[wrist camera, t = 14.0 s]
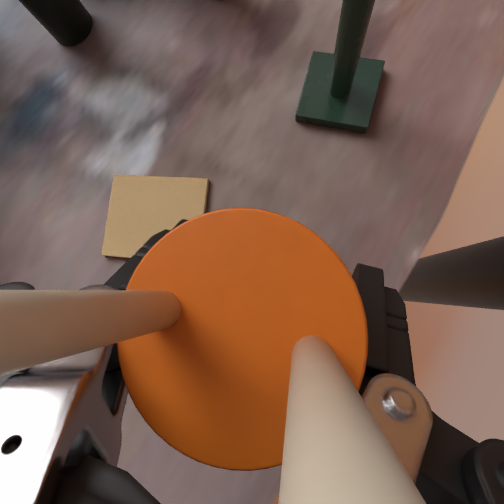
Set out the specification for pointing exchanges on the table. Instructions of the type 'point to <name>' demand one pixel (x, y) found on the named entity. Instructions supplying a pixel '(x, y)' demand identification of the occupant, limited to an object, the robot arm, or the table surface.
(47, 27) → the wine bottle
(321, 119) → the hook rack
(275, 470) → the table surface
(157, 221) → the cork mat
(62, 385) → the robot arm
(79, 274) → the table surface
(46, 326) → the orange cylinder
